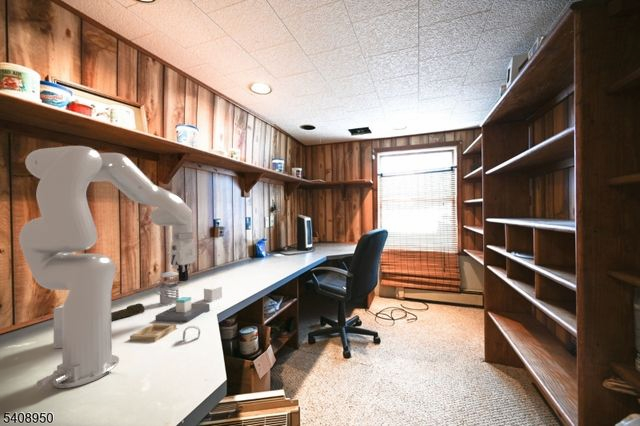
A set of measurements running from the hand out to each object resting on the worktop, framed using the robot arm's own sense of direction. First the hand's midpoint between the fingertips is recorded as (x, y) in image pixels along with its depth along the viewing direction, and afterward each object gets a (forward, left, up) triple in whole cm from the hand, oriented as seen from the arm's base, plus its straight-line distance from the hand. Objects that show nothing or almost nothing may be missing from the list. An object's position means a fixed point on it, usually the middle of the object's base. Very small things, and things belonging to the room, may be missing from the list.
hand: (183, 280), depth 102 cm
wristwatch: (-19, -18, -15) cm, 30 cm away
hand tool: (-5, +28, -15) cm, 32 cm away
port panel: (0, 0, -15) cm, 15 cm away
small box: (-23, +23, -15) cm, 36 cm away
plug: (0, 0, -14) cm, 15 cm away
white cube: (+22, +1, -15) cm, 27 cm away
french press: (+15, +21, -15) cm, 30 cm away
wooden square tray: (-17, -2, -15) cm, 23 cm away
